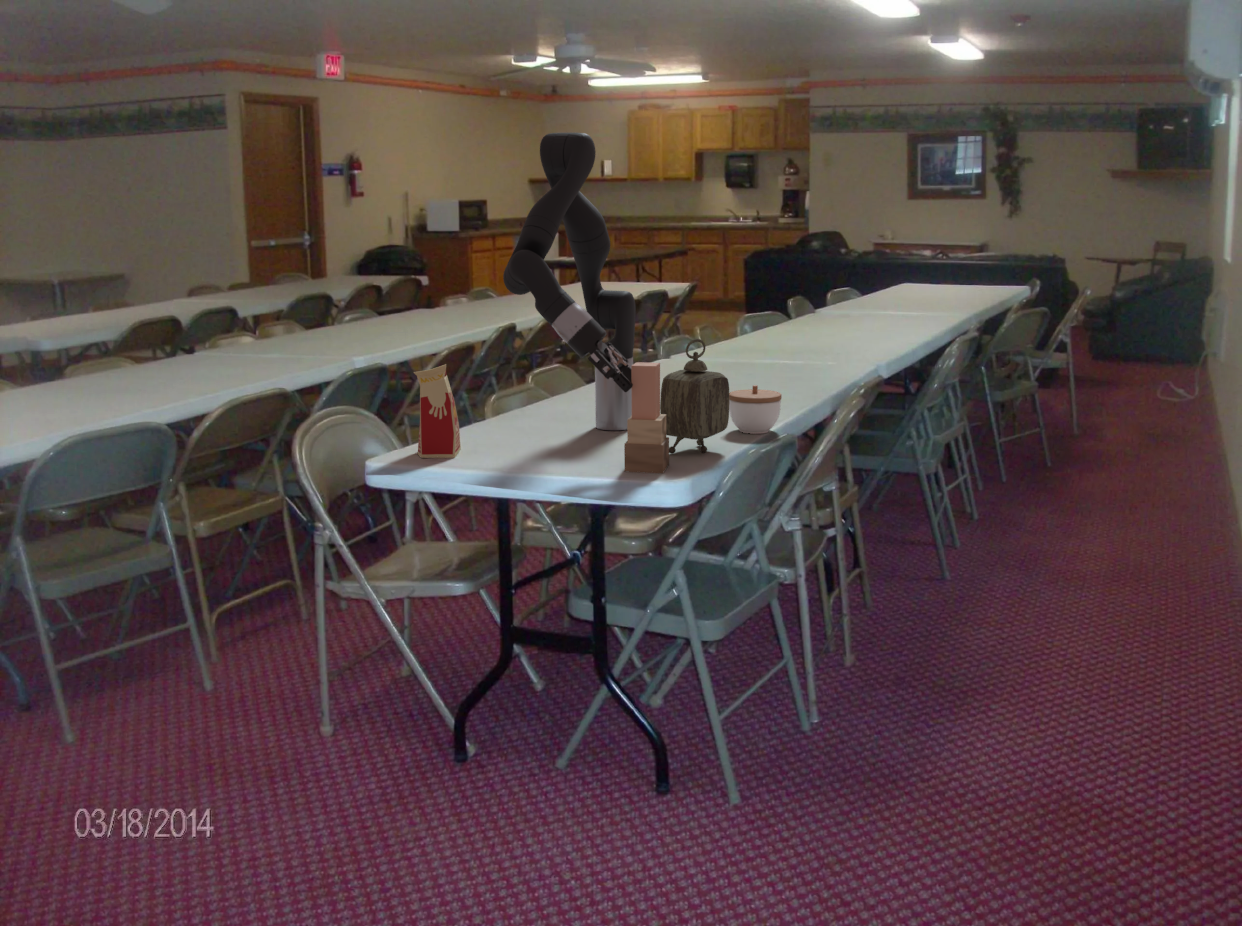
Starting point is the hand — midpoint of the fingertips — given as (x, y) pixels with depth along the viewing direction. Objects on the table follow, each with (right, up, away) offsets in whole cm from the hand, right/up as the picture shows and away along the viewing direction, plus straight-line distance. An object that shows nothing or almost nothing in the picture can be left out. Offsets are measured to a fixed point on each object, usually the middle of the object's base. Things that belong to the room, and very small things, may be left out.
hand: (633, 386), depth 249 cm
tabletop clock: (+14, -14, +18) cm, 27 cm away
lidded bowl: (+29, -8, +41) cm, 51 cm away
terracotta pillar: (+3, -6, +1) cm, 7 cm away
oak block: (+3, -11, +2) cm, 12 cm away
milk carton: (-43, -14, +18) cm, 49 cm away
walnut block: (+3, -17, +3) cm, 18 cm away
